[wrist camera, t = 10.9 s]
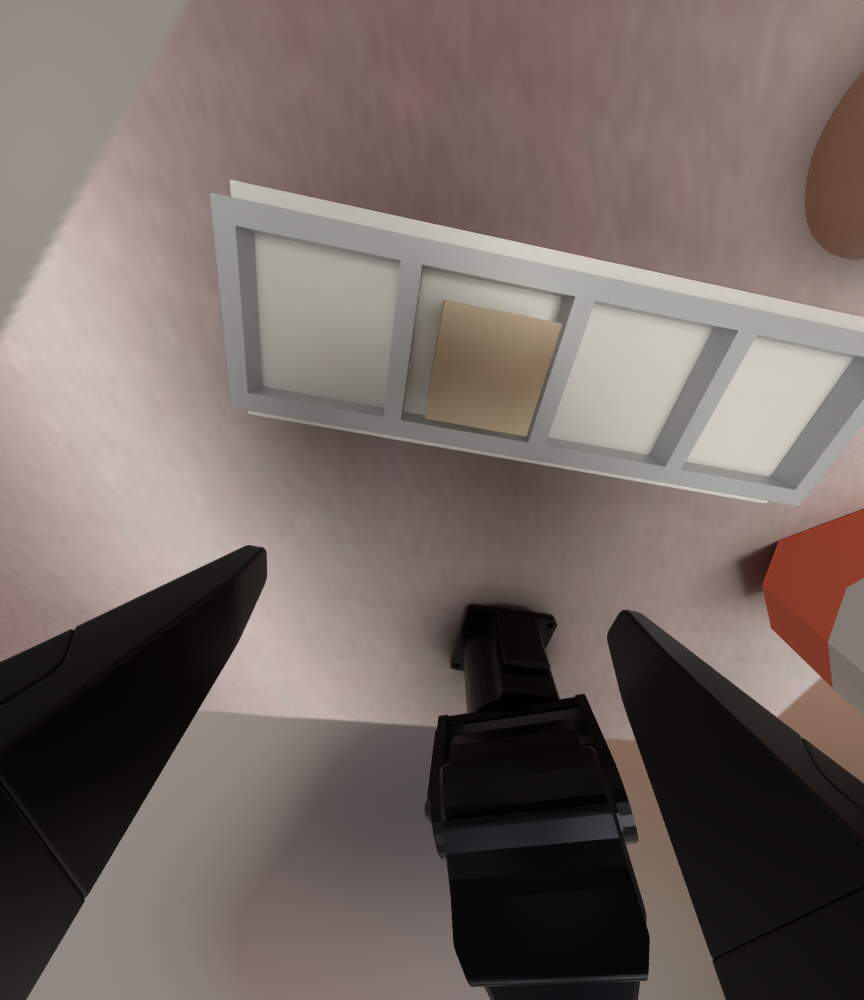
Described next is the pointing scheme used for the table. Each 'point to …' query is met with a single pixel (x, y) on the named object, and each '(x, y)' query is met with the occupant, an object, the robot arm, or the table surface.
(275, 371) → the board
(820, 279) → the table surface
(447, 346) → the beech block
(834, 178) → the terracotta mug
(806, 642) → the french fries container
